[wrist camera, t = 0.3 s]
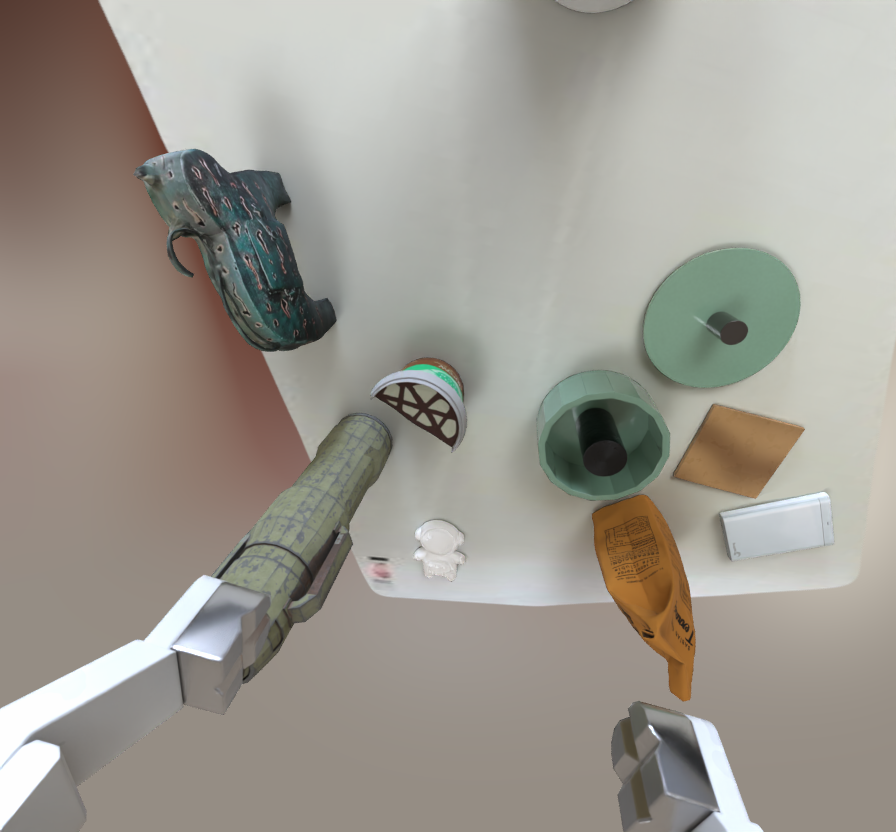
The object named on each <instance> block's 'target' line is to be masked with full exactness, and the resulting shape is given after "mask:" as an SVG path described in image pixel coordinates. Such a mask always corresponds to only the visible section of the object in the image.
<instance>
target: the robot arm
mask: <svg viewBox="0 0 896 832" xmlns="http://www.w3.org/2000/svg"><path fill="white" fill-rule="evenodd" d="M555 1H556V2H558V3H559V4H561V5H563V6H565V7H567V8H569V9H572V10H575V11H579V12H586V13H598V12H605V11H610V10H613V9H616V8H619V7H621V6H623V5H625V4H628V3H629V2H631V1H633V0H555ZM270 606H271V595H269V594H266V593H262V592H259V591H256V590H252V589H249V588H246V587H242V586H239V585H236V584H232V583H229V582H227V581H224V580H220V579H217V578H213V577H209V576H206V575H203V576H202V577H200V578H199V579H198V580H196V581H195V582H194V583H193V584H192V585H191V587H190V588H189V589H188V590H187V591H186V592H185V594H184V595H183V596H182V597H181V598H180V599H179V600H178V602H177V603H176V604H175V605H174V606H173V608H172V609H171V610H170V611H169V612H168V613H167V614H166V616H165V617H164V618H163V619H162V620H161V621H160V622H159V624H158V625H157V626H156V627H155V628H154V629H153V631H152V632H151V633H150V634H149V635H148V637H147V638H146V639H145V640H144V641H141V640H134V641H133V642H131V643H129V644H126V645H124V646H122V647H121V648H119V649H117V650H115V651H113V652H111V653H109V654H107V655H105V656H103V657H101V658H99V659H97V660H95V661H93V662H91V663H89V664H87V665H85V666H83V667H81V668H79V669H77V670H75V671H74V672H71V673H69V674H67V675H65V676H63V677H62V678H60V679H58V680H56V681H54V682H52V683H50V684H48V685H46V686H44V687H42V688H40V689H38V690H36V691H34V692H32V693H30V694H28V695H26V696H24V697H22V698H20V699H18V700H16V701H15V702H12V703H10V704H8V705H7V706H5V707H3V708H1V709H0V832H79V831H80V829H81V828H82V826H83V825H84V823H85V822H86V808H85V806H84V804H83V801H82V799H81V796H80V794H79V792H78V789H77V786H79V785H80V784H81V783H83V782H84V781H85V780H87V779H88V778H89V777H91V776H92V775H93V774H95V773H96V772H97V771H99V770H100V769H101V768H103V767H104V766H105V765H106V764H108V763H110V762H111V761H112V760H114V759H115V758H116V757H118V756H119V755H120V754H122V753H123V752H124V751H126V750H127V749H128V748H130V747H131V746H132V745H134V744H135V743H136V742H138V741H139V740H140V739H142V738H143V737H144V736H145V735H147V734H148V733H150V732H151V731H153V730H154V729H155V728H157V727H158V726H159V725H160V724H162V723H163V722H165V721H166V720H167V719H169V718H170V717H171V716H173V715H174V714H175V713H177V712H178V711H179V710H181V709H182V708H183V704H184V705H187V706H191V707H195V708H198V709H202V710H206V711H210V712H213V713H217V714H221V715H224V714H225V712H226V711H227V709H228V707H229V706H230V704H231V702H232V700H233V699H234V697H235V695H236V693H237V692H238V690H239V689H240V687H241V685H242V683H243V669H245V668H247V667H248V666H250V665H251V664H253V663H255V661H256V659H257V657H258V656H259V654H260V652H261V650H262V648H263V646H264V643H265V641H266V639H267V636H268V633H269V628H270V619H271V618H270V617H269V615H268V614H267V613H266V612H267V611H268V609H269V607H270ZM628 710H629V716H630V717H628V718H625V719H622V720H620V721H619V722H618V724H617V725H616V727H615V728H614V732H613V737H612V742H611V750H612V751H611V752H612V753H611V754H612V761H613V769H614V771H615V772H616V774H617V775H618V777H619V779H620V780H621V782H622V783H623V785H622V787H621V789H620V791H619V793H618V801H619V807H620V813H621V820H622V826H623V831H624V832H763V830H762V829H761V828H760V827H759V825H757V824H755V823H752V822H750V820H749V817H748V815H747V812H746V809H745V806H744V804H743V801H742V798H741V795H740V793H739V790H738V787H737V785H736V782H735V779H734V776H733V774H732V771H731V768H730V765H729V763H728V760H727V757H726V755H725V752H724V749H723V746H722V744H721V741H720V738H719V735H718V733H717V730H716V728H715V727H714V726H713V724H712V723H711V722H709V721H706V720H704V719H700V718H696V717H693V716H689V715H685V714H683V713H681V712H677V711H673V710H670V709H666V708H663V707H659V706H655V705H651V704H648V703H644V702H640V701H637V702H633V703H632V705H631V706H630V707H629V708H628Z"/></svg>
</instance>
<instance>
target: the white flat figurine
mask: <svg viewBox="0 0 896 832" xmlns="http://www.w3.org/2000/svg"><path fill="white" fill-rule="evenodd" d="M415 538H416V540H418V541H419V540H420V543H421V545H422V547H421V548H419V549H417V550H416V552H415V553H414V554H413V558H414V559H415V560H423V570H424V574H425V576H426V577H427V578H431V577H432V576H433V575H436V576H446V578H447V579H448V580H449V581H451V582H453V581H454V580H455V578H456V575H457V564H458V563H459V564H460V565H462V564H465V562H466V558H465V556H464V555H463V554H461V553H459V552H457V551H455V550H456V549H457V548H458V545H462V544H463V542H464V535H463V533H462V532H460V531H458V530H457V528H456V527H454V526H453V525H452V524H450V523H448V522H445V521H442V520H431V521H428V522H426V523H425V524H423V525H422V527H419V528H417V530H416V531H415Z"/></svg>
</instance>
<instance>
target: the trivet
mask: <svg viewBox="0 0 896 832" xmlns="http://www.w3.org/2000/svg"><path fill="white" fill-rule="evenodd" d="M804 430H805V429H804V428H803V427H801V426H797V425H793V424H789V423H785V422H781V421H777V420H773V419H770V418H766V417H762V416H758V415H754V414H750V413H746V412H742V411H739V410H735V409H731V408H727V407H723V406H719V405H715V404H713V405H712V407H711V409H710V411H709V412H708V414H707V416H706V418H705V419H704V421H703V423H702V425H701V426H700V428H699V430H698V432H697V433H696V435H695V437H694V439H693V440H692V442H691V444H690V446H689V447H688V449H687V451H686V453H685V454H684V456H683V458H682V460H681V462H680V463H679V465H678V467H677V469H676V470H675V472H674V474H673V476H674V477H676V478H680V479H684V480H687V481H691V482H695V483H699V484H702V485H706V486H710V487H714V488H717V489H721V490H725V491H729V492H732V493H736V494H740V495H744V496H747V497H751V498H755V499H756V498H757V496H758V495H759V494H760V492H761V491H762V489H763V488H764V486H765V485H766V484H767V482H768V481H769V479H770V478H771V477H772V475H773V474H774V472H775V471H776V469H777V468H778V467H779V465H780V464H781V462H782V461H783V460H784V458H785V457H786V455H787V454H788V452H789V451H790V450H791V448H792V447H793V445H794V444H795V443H796V441H797V440H798V438H799V437H800V435H801V434H802V433H803V431H804Z"/></svg>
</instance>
